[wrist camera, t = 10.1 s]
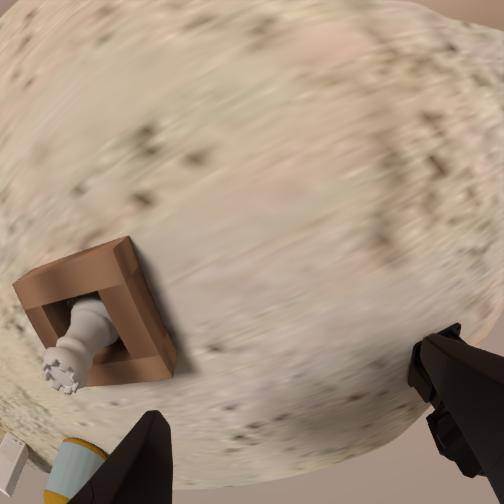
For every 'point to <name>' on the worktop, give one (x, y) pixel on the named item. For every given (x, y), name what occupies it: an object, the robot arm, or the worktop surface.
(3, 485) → the skincare box
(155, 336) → the socket
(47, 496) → the bottle
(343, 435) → the worktop surface
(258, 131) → the worktop surface
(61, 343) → the rook chess piece
